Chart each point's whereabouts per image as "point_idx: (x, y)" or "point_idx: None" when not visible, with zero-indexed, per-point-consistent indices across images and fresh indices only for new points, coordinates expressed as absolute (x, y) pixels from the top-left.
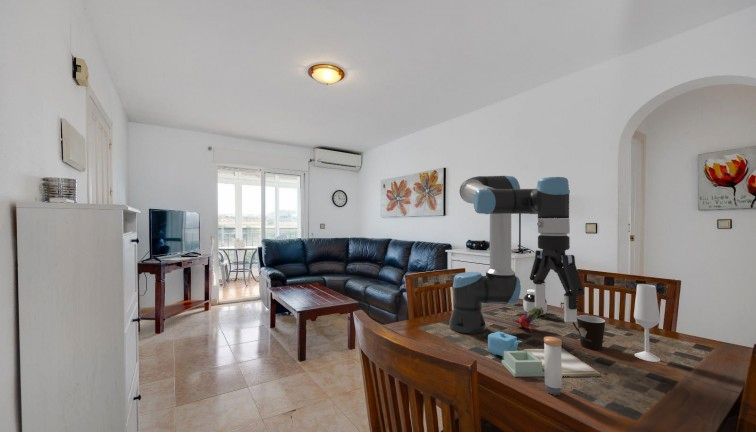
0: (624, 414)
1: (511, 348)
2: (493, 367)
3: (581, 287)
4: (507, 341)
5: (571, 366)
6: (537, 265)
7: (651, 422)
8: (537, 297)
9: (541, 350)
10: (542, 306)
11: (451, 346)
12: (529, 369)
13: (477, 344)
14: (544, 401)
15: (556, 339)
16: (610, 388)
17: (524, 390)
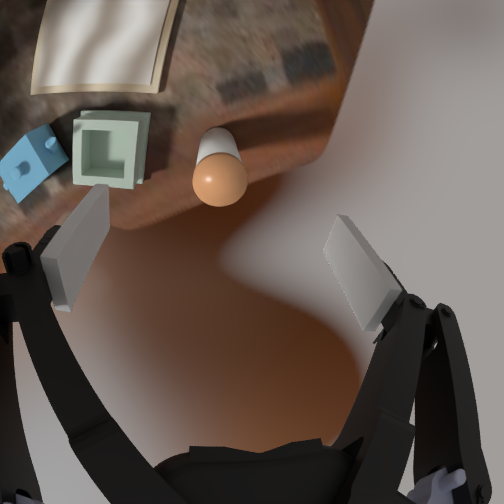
0: (319, 74)
1: (54, 152)
2: None
3: (455, 334)
4: (49, 172)
5: (135, 28)
6: (16, 426)
7: (349, 57)
8: (94, 250)
9: (44, 54)
10: (108, 200)
11: None
12: (140, 149)
13: (3, 187)
14: None
15: (223, 170)
16: (237, 10)
17: None
